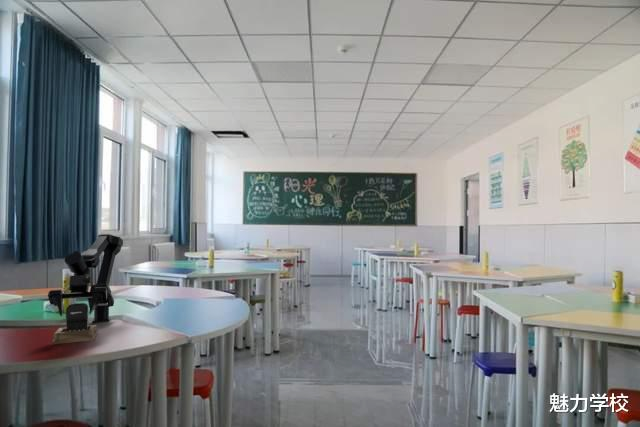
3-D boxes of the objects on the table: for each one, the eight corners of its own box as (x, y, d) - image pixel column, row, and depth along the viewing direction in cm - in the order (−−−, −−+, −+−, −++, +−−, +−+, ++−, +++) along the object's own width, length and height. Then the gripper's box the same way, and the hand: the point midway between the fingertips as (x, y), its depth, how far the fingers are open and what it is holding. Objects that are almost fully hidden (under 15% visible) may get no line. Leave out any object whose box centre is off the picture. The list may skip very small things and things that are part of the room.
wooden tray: (58, 337, 149) (58, 327, 149) (98, 333, 154) (98, 324, 154) (51, 344, 139) (51, 334, 139) (94, 340, 144) (94, 330, 144)
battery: (64, 337, 144) (65, 305, 144) (66, 335, 147) (66, 303, 147) (87, 335, 146) (87, 303, 147) (88, 332, 150) (88, 302, 150)
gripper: (49, 268, 147) (41, 303, 137) (106, 265, 154) (102, 299, 144) (54, 286, 154) (46, 321, 144) (108, 283, 162) (105, 317, 151)
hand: (75, 314), depth 145 cm, fingers open, 9 cm apart
